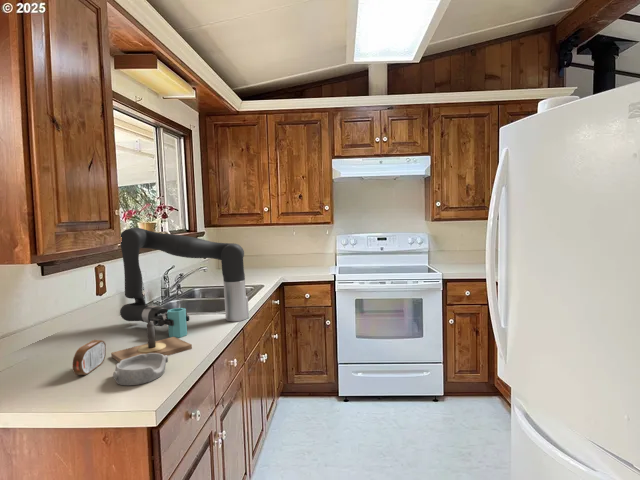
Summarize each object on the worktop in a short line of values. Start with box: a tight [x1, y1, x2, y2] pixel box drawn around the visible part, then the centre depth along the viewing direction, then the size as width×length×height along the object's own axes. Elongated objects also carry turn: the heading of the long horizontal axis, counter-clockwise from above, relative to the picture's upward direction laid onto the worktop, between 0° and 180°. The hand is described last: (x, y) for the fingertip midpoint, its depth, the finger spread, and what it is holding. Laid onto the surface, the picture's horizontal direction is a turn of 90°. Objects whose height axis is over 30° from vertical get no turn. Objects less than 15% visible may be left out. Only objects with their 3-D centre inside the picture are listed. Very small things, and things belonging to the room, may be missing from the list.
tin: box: [72, 339, 107, 376], centre depth 128 cm, size 15×3×8 cm, turn 1°
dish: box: [112, 353, 169, 386], centre depth 121 cm, size 14×14×5 cm
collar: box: [167, 307, 188, 339], centre depth 160 cm, size 6×6×10 cm
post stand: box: [110, 322, 193, 363], centre depth 141 cm, size 22×14×11 cm, turn 134°
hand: (180, 320), depth 159 cm, fingers closed on collar, 6 cm apart
